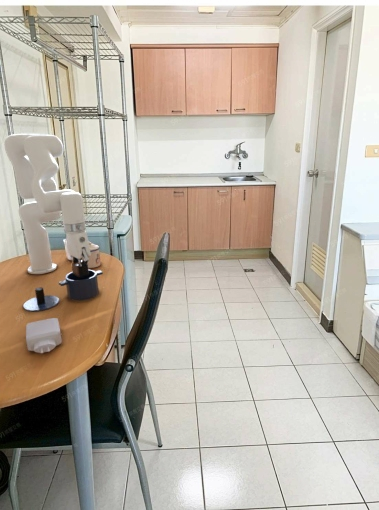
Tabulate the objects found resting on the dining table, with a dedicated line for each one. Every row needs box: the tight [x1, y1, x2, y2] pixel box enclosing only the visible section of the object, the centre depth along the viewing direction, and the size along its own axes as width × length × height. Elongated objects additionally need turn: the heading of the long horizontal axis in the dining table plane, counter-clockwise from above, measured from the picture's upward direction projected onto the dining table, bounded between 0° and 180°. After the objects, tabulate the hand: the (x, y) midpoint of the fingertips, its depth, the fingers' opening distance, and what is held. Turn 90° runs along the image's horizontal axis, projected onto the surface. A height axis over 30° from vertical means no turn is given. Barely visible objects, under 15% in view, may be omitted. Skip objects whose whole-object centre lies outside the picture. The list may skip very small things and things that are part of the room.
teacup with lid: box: [81, 241, 102, 269], centre depth 166 cm, size 12×9×12 cm
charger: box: [25, 317, 63, 354], centre depth 101 cm, size 5×9×15 cm
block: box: [71, 261, 90, 277], centre depth 131 cm, size 4×4×4 cm
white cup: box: [63, 238, 72, 261], centre depth 175 cm, size 8×8×10 cm
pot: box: [58, 269, 104, 302], centre depth 133 cm, size 11×17×8 cm
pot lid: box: [22, 286, 60, 313], centre depth 126 cm, size 12×12×7 cm
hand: (80, 273), depth 131 cm, fingers closed on block, 4 cm apart
